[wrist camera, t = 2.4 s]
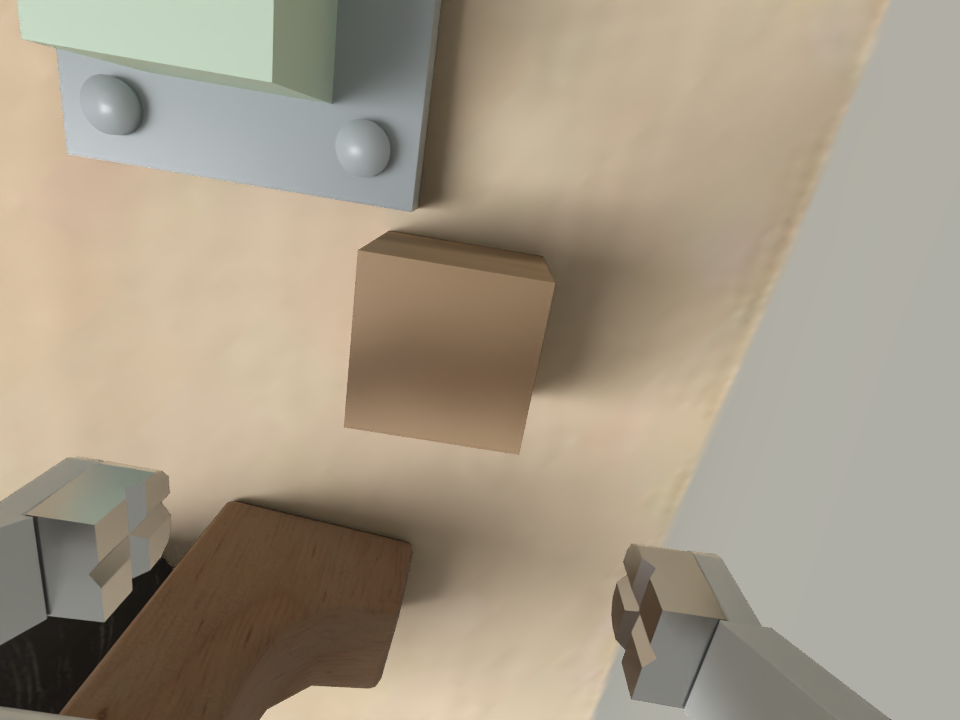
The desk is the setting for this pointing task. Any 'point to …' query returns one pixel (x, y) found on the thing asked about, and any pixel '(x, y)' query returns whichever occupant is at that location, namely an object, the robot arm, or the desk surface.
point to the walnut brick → (446, 340)
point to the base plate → (276, 115)
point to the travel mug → (67, 650)
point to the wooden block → (254, 622)
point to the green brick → (199, 39)
